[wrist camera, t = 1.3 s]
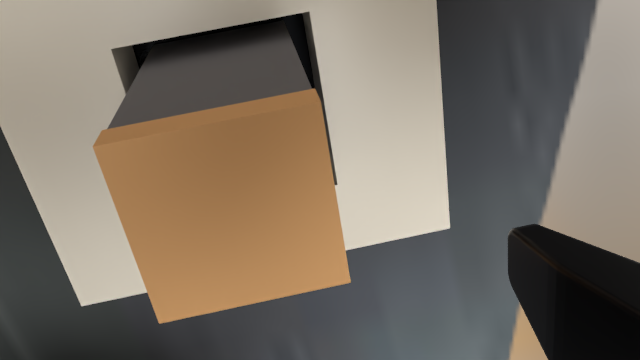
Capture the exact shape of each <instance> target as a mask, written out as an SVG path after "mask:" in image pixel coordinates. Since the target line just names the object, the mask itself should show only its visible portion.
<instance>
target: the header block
mask: <svg viewBox="0 0 640 360" xmlns="http://www.w3.org/2000/svg"><path fill="white" fill-rule="evenodd" d="M298 13H302V15H303V21H304V27H305V32H306V38H307V44H308V50H309V56H310V62H311V68H312V74H313V80H314V86H315V89H316V91H317V94H318V96H319V98H320V101H321V105H322V111H323V117H324V123H325V130H326V136H327V142H328V148H329V154H330V160H331V166H332V172H333V178H334V184H335V190H336V196H337V202H338V208H339V214H340V220H341V226H342V232H343V239H344V245H345V250H350V249H354V248H359V247H364V246H369V245H373V244H378V243H383V242H387V241H392V240H397V239H402V238H406V237H411V236H416V235H421V234H425V233H430V232H435V231H439V230H444V229H449V228H450V219H449V202H448V186H447V169H446V152H445V136H444V119H443V103H442V86H441V70H440V53H439V36H438V20H437V3H436V0H0V127H1V129H2V131H3V133H4V135H5V138H6V140H7V142H8V144H9V147H10V149H11V151H12V153H13V155H14V158H15V160H16V162H17V164H18V167H19V169H20V171H21V173H22V175H23V178H24V180H25V182H26V184H27V186H28V189H29V191H30V193H31V195H32V198H33V200H34V202H35V204H36V206H37V209H38V211H39V213H40V215H41V217H42V220H43V222H44V224H45V226H46V229H47V231H48V233H49V235H50V237H51V240H52V242H53V244H54V246H55V248H56V251H57V253H58V255H59V257H60V260H61V262H62V264H63V266H64V268H65V271H66V273H67V275H68V277H69V280H70V282H71V284H72V286H73V288H74V291H75V293H76V295H77V297H78V299H79V302H80V304H81V306H85V305H90V304H95V303H100V302H104V301H109V300H114V299H118V298H123V297H128V296H133V295H137V294H142V293H147V290H146V287H145V285H144V282H143V279H142V277H141V274H140V271H139V269H138V266H137V263H136V261H135V258H134V255H133V253H132V250H131V248H130V245H129V242H128V240H127V237H126V234H125V232H124V229H123V226H122V224H121V221H120V218H119V216H118V213H117V210H116V208H115V205H114V202H113V200H112V197H111V194H110V192H109V189H108V186H107V184H106V181H105V179H104V176H103V173H102V171H101V168H100V165H99V163H98V160H97V157H96V155H95V152H94V149H93V145H94V143H95V141H96V140H97V138H98V136H99V134H100V133H101V131H102V130H105V129H107V128H108V126H109V125H110V123H111V121H112V119H113V117H114V116H115V114H116V112H117V110H118V108H119V106H120V105H121V103H122V101H123V99H124V97H125V96H126V94H127V92H128V90H129V88H130V86H131V85H132V83H133V81H134V79H135V77H136V76H137V74H138V72H139V70H140V69H139V66H138V63H137V59H136V56H135V53H134V50H133V47H132V45H135V44H140V43H145V42H151V41H156V40H161V39H166V38H172V37H177V36H182V35H188V34H193V33H198V32H203V31H209V30H214V29H219V28H225V27H230V26H235V25H240V24H246V23H251V22H256V21H262V20H267V19H272V18H277V17H283V16H288V15H293V14H298Z"/></svg>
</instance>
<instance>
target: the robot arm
mask: <svg viewBox="0 0 640 360" xmlns="http://www.w3.org/2000/svg"><path fill="white" fill-rule="evenodd" d="M508 275H509V280H510V283H511V286H512V288H513V290H514V292H515V294H516V296H517V298H518V300H519V302H520V304H521V306H522V308H523V310H524V312H525V314H526V316H527V318H528V320H529V322H530V324H531V326H532V328H533V330H534V332H535V334H536V336H537V338H538V340H539V342H540V344H541V346H542V348H543V350H544V352H545V354H546V356H547V358H548V360H640V263H638V262H636V261H633V260H630V259H628V258H625V257H623V256H620V255H617V254H615V253H611V252H609V251H606V250H604V249H601V248H599V247H596V246H593V245H591V244H588V243H585V242H583V241H580V240H577V239H575V238H572V237H569V236H566V235H564V234H561V233H559V232H556V231H553V230H551V229H548V228H545V227H543V226H540V225H537V224H531V225H527V226H522V227H517V228H513V229H512V230H511V231H510V232H509V235H508Z"/></svg>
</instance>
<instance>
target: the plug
mask: <svg viewBox="0 0 640 360" xmlns="http://www.w3.org/2000/svg"><path fill="white" fill-rule="evenodd" d="M93 149H94V152H95V155H96V157H97V160H98V163H99V165H100V168H101V171H102V173H103V176H104V179H105V181H106V184H107V186H108V189H109V192H110V194H111V197H112V200H113V202H114V205H115V208H116V210H117V213H118V216H119V218H120V221H121V224H122V226H123V229H124V232H125V234H126V237H127V240H128V242H129V245H130V248H131V250H132V253H133V255H134V258H135V261H136V263H137V266H138V269H139V271H140V274H141V277H142V279H143V282H144V285H145V287H146V290H147V293H148V295H149V298H150V301H151V303H152V306H153V309H154V311H155V314H156V317H157V319H158V322H159V324H161V323H165V322H170V321H175V320H179V319H184V318H188V317H193V316H198V315H202V314H207V313H212V312H216V311H221V310H226V309H230V308H235V307H240V306H244V305H249V304H254V303H258V302H263V301H268V300H272V299H277V298H281V297H286V296H291V295H295V294H300V293H305V292H309V291H314V290H319V289H323V288H328V287H333V286H337V285H342V284H347V283H351V281H350V275H349V269H348V263H347V257H346V251H345V245H344V239H343V232H342V226H341V220H340V214H339V208H338V202H337V196H336V190H335V184H334V178H333V172H332V166H331V160H330V154H329V148H328V142H327V136H326V130H325V123H324V117H323V111H322V105H321V101H320V98H319V96H318V94H317V91H316V89H315V88H314V89H312V88H311V85H310V83H309V80H308V78H307V76H306V73H305V71H304V68H303V66H302V64H301V61H300V59H299V56H298V54H297V52H296V49H295V47H294V44H293V42H292V40H291V37H290V35H289V32H288V30H287V28H286V25H285V23H284V20H282V21H277V22H272V23H267V24H261V25H256V26H251V27H246V28H240V29H235V30H230V31H225V32H219V33H214V34H209V35H203V36H198V37H193V38H188V39H182V40H177V41H172V42H167V43H161V44H156V45H153V46H152V48H151V50H150V52H149V54H148V56H147V57H146V59H145V61H144V63H143V65H142V66H141V68H140V70H139V72H138V74H137V76H136V77H135V79H134V81H133V83H132V85H131V86H130V88H129V90H128V92H127V94H126V96H125V97H124V99H123V101H122V103H121V105H120V106H119V108H118V110H117V112H116V114H115V116H114V117H113V119H112V121H111V123H110V125H109V126H108V128H107V129H105V130H102V131H101V133H100V134H99V136H98V138H97V140H96V141H95V143H94V145H93Z"/></svg>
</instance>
